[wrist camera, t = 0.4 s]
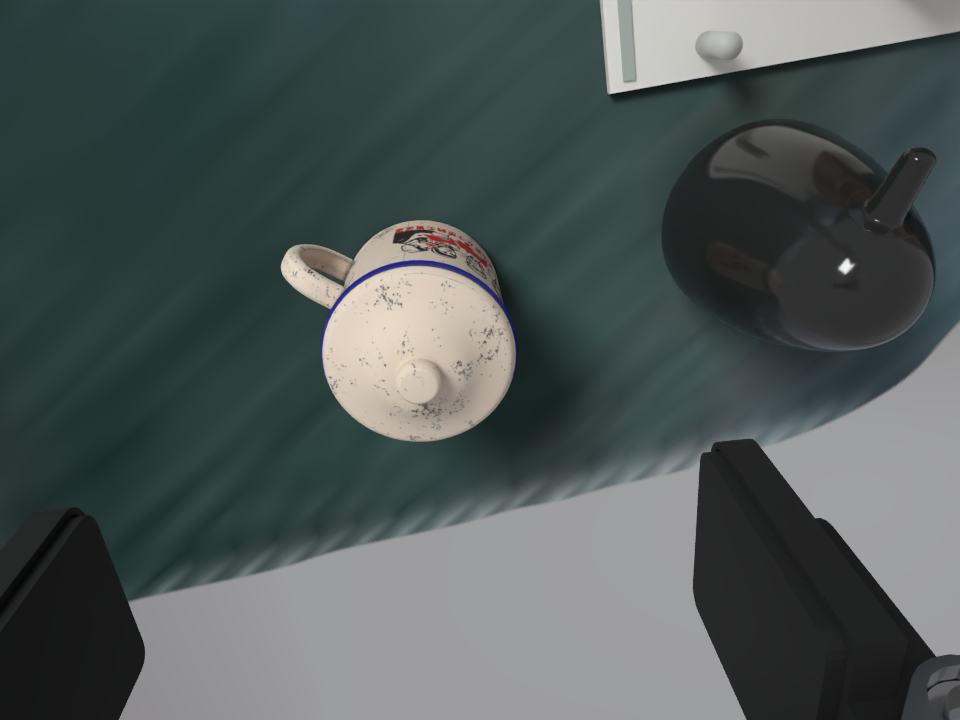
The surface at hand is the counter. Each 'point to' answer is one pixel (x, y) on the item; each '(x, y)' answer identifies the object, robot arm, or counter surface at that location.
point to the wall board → (751, 34)
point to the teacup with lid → (411, 329)
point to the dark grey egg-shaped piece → (801, 237)
